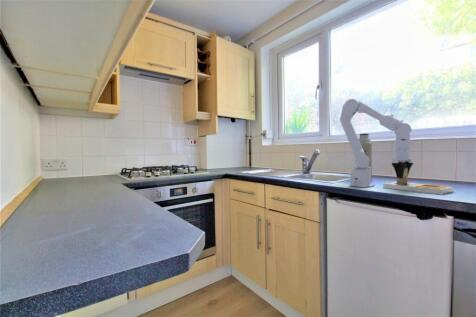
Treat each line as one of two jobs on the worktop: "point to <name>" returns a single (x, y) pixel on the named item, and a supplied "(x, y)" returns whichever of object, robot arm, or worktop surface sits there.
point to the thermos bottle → (366, 148)
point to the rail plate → (420, 188)
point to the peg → (403, 180)
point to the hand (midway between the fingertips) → (402, 177)
